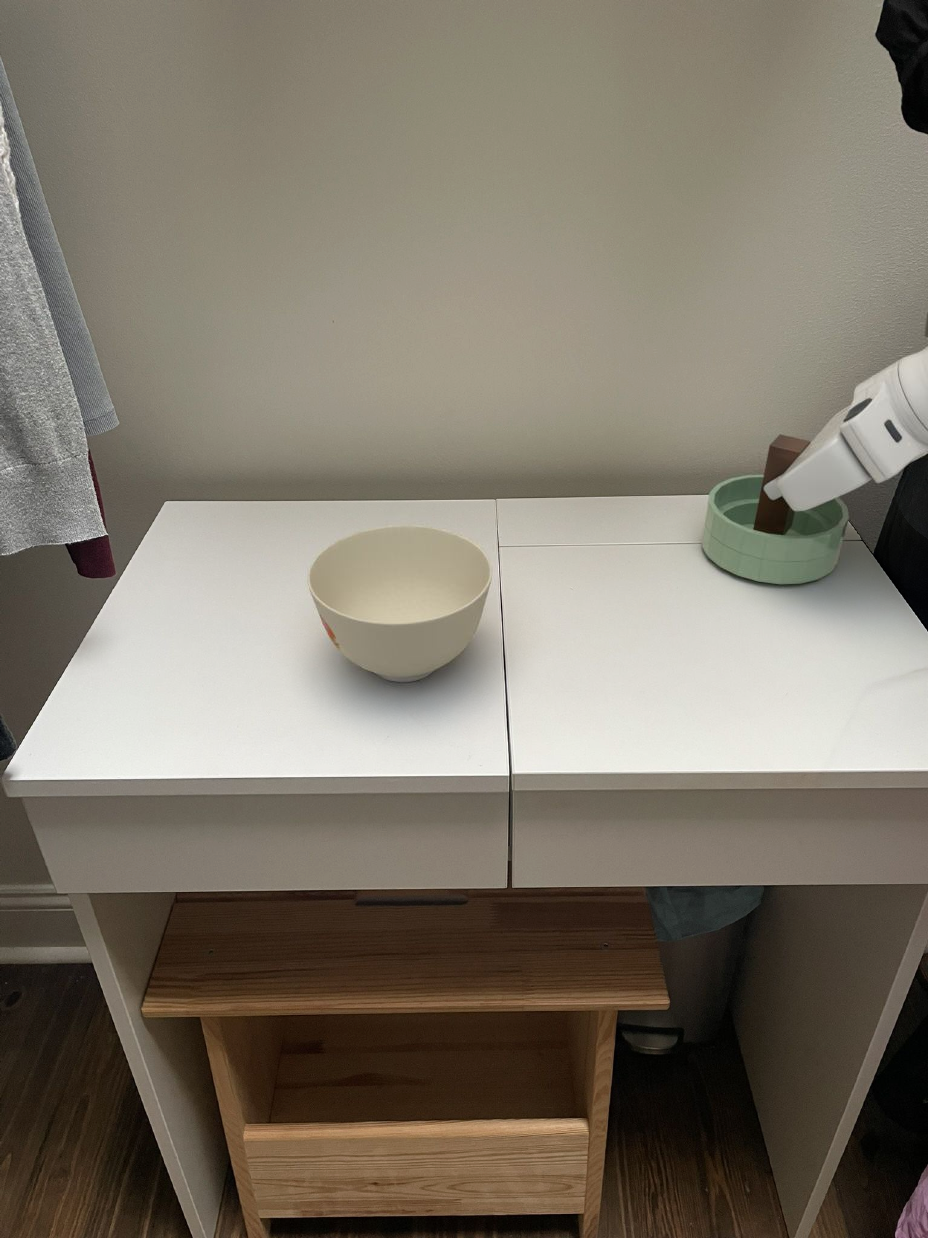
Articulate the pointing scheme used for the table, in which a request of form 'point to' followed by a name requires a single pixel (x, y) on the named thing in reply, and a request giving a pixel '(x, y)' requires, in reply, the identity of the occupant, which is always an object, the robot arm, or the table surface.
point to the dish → (771, 536)
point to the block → (780, 457)
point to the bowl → (400, 597)
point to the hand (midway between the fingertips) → (776, 483)
